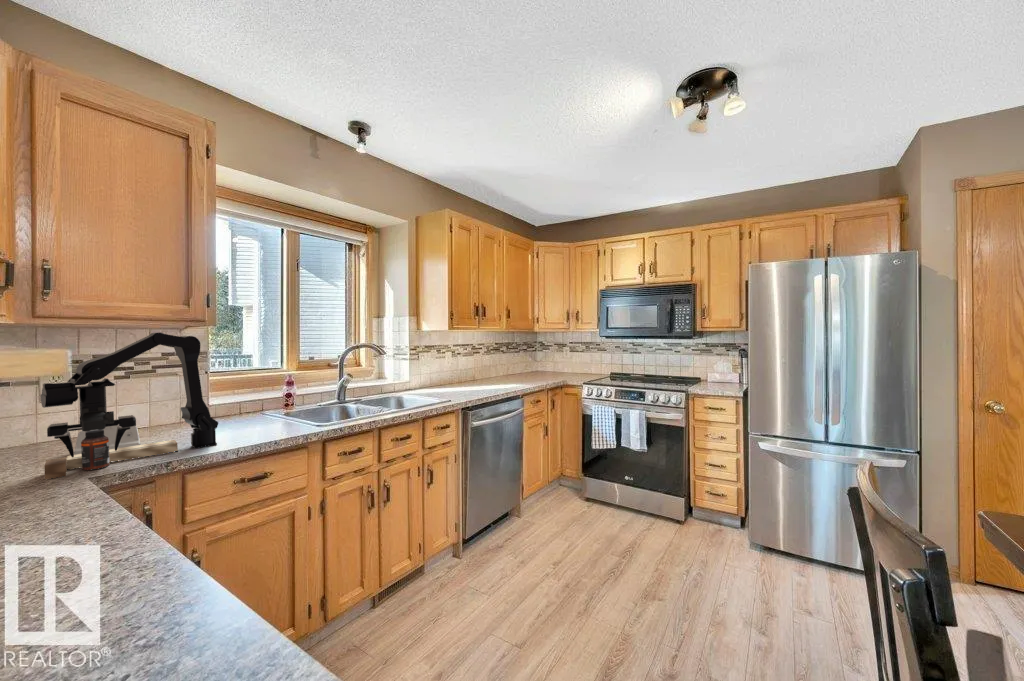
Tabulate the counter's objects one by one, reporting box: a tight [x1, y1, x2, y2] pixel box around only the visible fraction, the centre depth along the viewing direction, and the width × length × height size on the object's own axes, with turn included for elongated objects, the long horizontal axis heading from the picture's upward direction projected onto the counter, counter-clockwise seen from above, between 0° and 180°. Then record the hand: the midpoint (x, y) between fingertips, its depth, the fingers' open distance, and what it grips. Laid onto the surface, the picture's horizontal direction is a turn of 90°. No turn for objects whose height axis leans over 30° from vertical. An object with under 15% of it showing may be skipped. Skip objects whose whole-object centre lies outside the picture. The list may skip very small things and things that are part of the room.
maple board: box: [66, 439, 178, 470], centre depth 136 cm, size 26×6×3 cm, turn 135°
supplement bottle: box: [81, 430, 110, 471], centre depth 127 cm, size 6×6×11 cm
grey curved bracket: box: [73, 425, 142, 455], centre depth 146 cm, size 17×5×10 cm, turn 130°
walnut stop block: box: [43, 456, 68, 480], centre depth 120 cm, size 4×7×4 cm, turn 45°
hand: (94, 453), depth 126 cm, fingers open, 9 cm apart
